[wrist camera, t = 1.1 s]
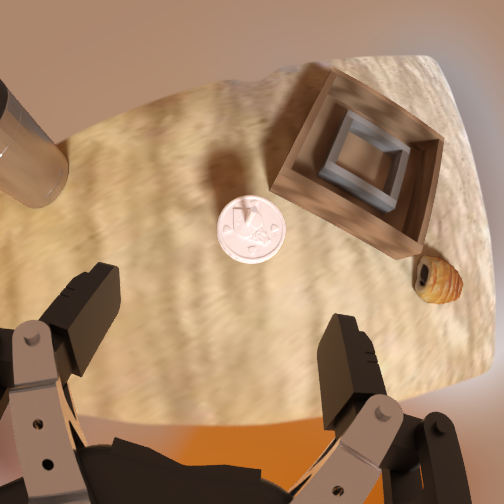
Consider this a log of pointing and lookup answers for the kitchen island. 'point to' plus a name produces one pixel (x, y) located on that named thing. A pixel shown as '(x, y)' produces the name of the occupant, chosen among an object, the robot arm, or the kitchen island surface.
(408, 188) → the crate
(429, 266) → the pastry
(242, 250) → the smoothie
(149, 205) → the kitchen island surface
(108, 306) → the robot arm
